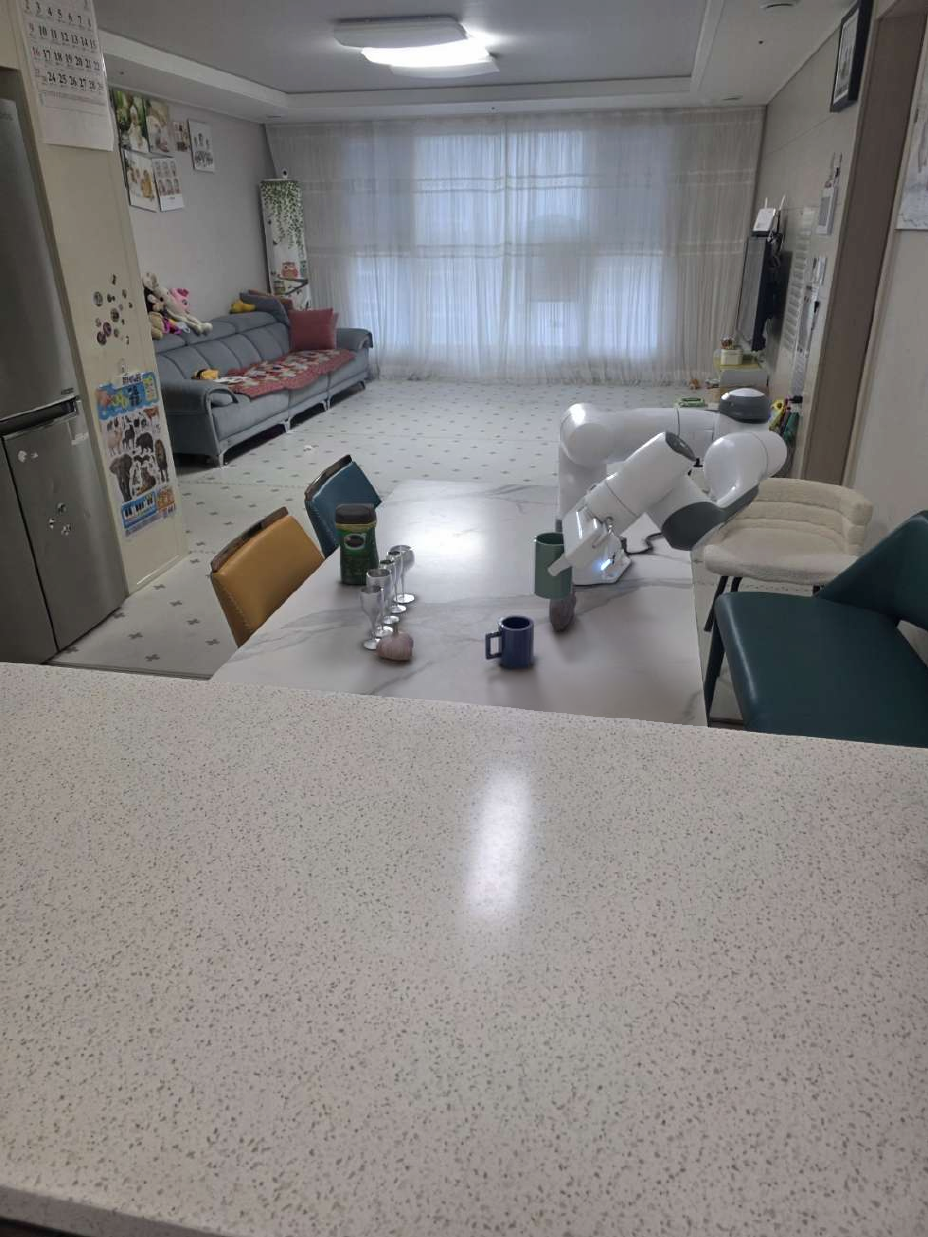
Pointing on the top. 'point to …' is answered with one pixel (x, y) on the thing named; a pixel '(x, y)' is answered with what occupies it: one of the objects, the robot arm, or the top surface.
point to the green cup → (545, 553)
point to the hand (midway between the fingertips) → (549, 563)
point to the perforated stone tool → (562, 610)
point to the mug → (512, 642)
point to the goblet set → (386, 590)
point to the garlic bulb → (395, 644)
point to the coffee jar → (356, 541)
